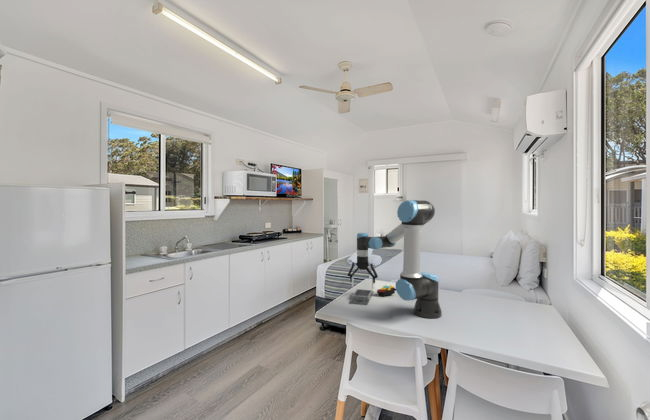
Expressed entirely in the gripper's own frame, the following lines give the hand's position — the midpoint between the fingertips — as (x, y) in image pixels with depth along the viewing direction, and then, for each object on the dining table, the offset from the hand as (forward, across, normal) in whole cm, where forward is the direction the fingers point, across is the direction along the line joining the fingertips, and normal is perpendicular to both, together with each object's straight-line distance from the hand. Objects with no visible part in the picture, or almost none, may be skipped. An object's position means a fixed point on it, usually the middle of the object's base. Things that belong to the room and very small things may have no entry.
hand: (362, 287), depth 191 cm
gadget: (+8, -12, -7) cm, 16 cm away
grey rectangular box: (+7, 0, 0) cm, 7 cm away
